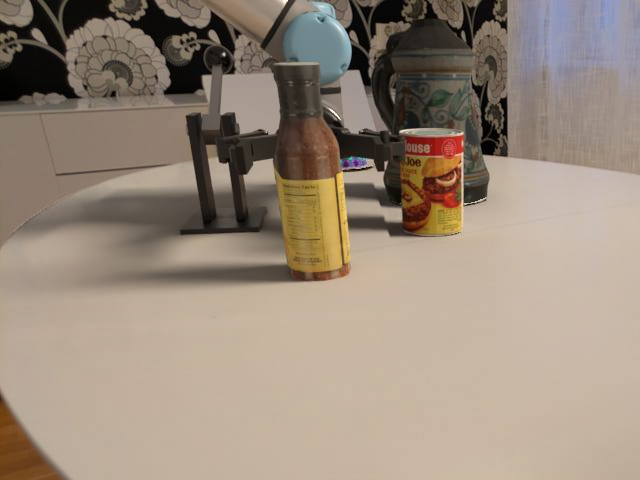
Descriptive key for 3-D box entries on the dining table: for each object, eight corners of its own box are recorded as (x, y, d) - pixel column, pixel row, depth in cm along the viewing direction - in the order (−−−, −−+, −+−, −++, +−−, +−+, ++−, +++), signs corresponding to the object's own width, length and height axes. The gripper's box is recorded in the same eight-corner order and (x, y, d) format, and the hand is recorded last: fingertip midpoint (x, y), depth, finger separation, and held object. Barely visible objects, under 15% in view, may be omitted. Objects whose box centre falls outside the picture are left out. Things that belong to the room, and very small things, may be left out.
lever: (207, 63, 91) (201, 38, 88) (235, 63, 92) (230, 39, 89) (200, 149, 82) (193, 124, 79) (231, 148, 83) (225, 124, 80)
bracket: (199, 218, 91) (181, 110, 85) (268, 216, 93) (254, 109, 87) (181, 240, 80) (159, 118, 75) (259, 237, 82) (244, 117, 76)
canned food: (393, 225, 88) (389, 129, 83) (447, 219, 92) (446, 127, 87) (416, 239, 82) (413, 136, 77) (474, 232, 85) (474, 133, 80)
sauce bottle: (319, 266, 71) (300, 61, 63) (365, 275, 68) (351, 62, 60) (273, 282, 66) (245, 61, 58) (320, 293, 63) (298, 63, 55)
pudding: (357, 161, 140) (355, 134, 138) (389, 168, 132) (387, 140, 129) (304, 166, 133) (301, 138, 131) (334, 174, 125) (332, 144, 122)
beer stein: (480, 210, 97) (482, 16, 87) (351, 205, 100) (338, 16, 89) (496, 189, 112) (499, 22, 102) (383, 185, 115) (375, 21, 104)
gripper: (413, 163, 90) (436, 193, 71) (217, 167, 85) (186, 201, 66) (411, 104, 87) (435, 118, 68) (208, 104, 82) (172, 120, 63)
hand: (312, 159), depth 67 cm, fingers open, 13 cm apart
